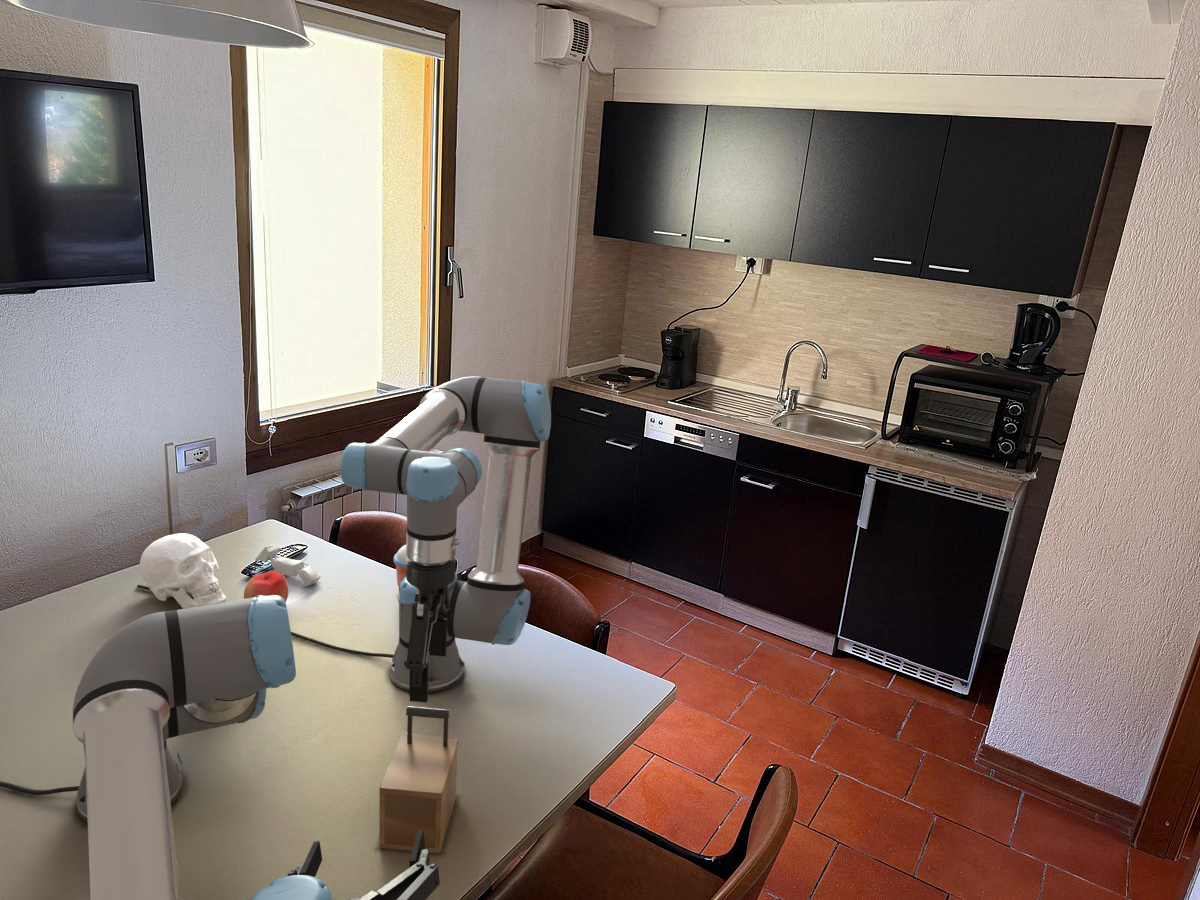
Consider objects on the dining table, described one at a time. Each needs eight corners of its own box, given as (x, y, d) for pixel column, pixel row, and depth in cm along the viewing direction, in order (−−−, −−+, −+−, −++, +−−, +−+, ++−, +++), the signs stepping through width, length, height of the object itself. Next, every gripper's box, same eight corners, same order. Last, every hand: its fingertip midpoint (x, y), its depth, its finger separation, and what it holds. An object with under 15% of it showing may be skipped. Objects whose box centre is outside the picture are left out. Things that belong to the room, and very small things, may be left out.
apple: (273, 600, 207) (272, 562, 204) (297, 613, 202) (296, 575, 199) (237, 614, 200) (234, 575, 197) (261, 628, 194) (259, 588, 191)
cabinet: (400, 793, 147) (400, 742, 144) (455, 798, 147) (457, 747, 144) (379, 848, 135) (379, 794, 132) (439, 853, 135) (441, 799, 132)
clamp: (253, 565, 223) (254, 542, 221) (265, 560, 226) (266, 537, 224) (309, 593, 215) (310, 569, 213) (320, 588, 218) (321, 564, 216)
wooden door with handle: (402, 739, 145) (402, 698, 143) (458, 744, 145) (460, 703, 142) (379, 794, 132) (379, 749, 129) (441, 799, 132) (442, 755, 129)
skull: (205, 619, 196) (202, 555, 192) (127, 600, 202) (123, 537, 198) (244, 597, 208) (243, 536, 204) (170, 579, 214) (167, 520, 210)
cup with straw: (421, 606, 210) (422, 538, 205) (387, 600, 212) (387, 533, 206) (435, 590, 219) (437, 525, 213) (402, 584, 220) (403, 520, 215)
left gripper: (216, 1009, 92) (278, 881, 113) (447, 982, 93) (467, 860, 114) (205, 947, 91) (270, 829, 112) (440, 921, 92) (461, 809, 113)
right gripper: (437, 595, 120) (434, 724, 127) (469, 528, 144) (466, 639, 150) (384, 591, 120) (384, 720, 127) (425, 524, 144) (423, 636, 150)
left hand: (370, 844), depth 113 cm, fingers open, 13 cm apart
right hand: (428, 676), depth 139 cm, fingers open, 13 cm apart
